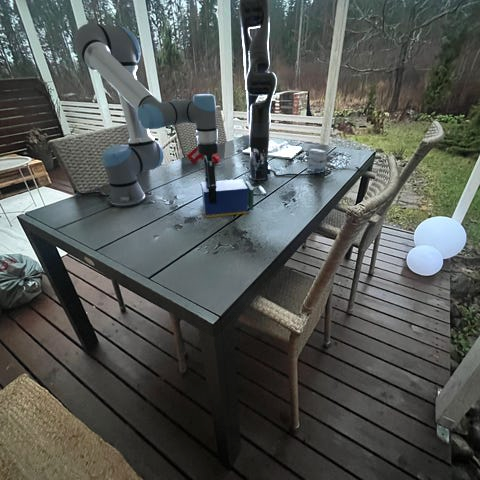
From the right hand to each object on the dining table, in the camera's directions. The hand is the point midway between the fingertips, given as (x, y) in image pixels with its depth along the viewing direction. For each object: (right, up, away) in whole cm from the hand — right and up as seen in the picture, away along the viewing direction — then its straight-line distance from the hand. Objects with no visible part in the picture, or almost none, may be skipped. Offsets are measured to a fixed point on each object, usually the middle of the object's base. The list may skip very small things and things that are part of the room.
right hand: (257, 178), depth 111 cm
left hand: (-19, -8, 0) cm, 21 cm away
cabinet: (-14, -12, +4) cm, 19 cm away
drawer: (-8, -11, +5) cm, 14 cm away
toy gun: (-30, +23, +60) cm, 71 cm away
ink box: (+36, +14, +45) cm, 60 cm away
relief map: (+17, +38, +83) cm, 92 cm away
